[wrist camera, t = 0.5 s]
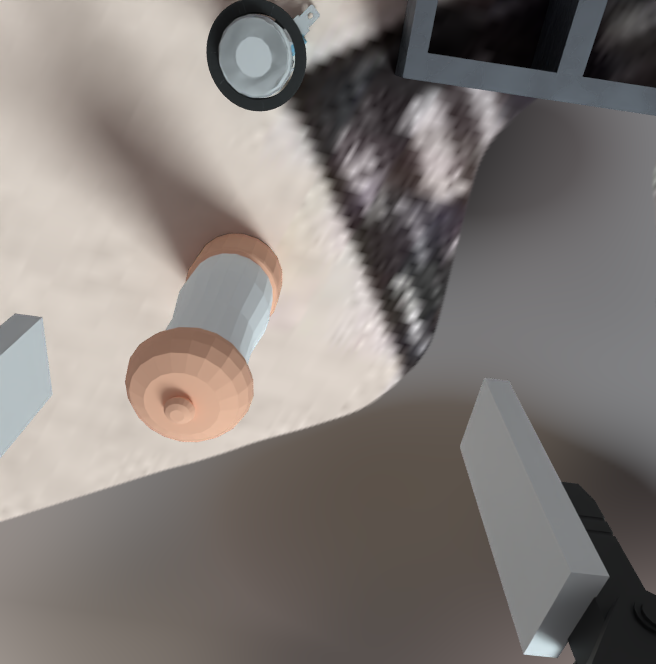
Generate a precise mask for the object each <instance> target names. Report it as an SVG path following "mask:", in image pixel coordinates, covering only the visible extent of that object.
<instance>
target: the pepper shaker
mask: <svg viewBox="0 0 656 664" xmlns="http://www.w3.org/2000/svg"><path fill="white" fill-rule="evenodd" d="M281 286H282V269H281V266H280V264H279V261H278V258H277V257H276V255H275V254H274V253H273V251H272V250H271V249H270V247H268V246H267V245H266V244H264V243H263V242H261V241H260V240H259V239H257V238H254V237H251V236H248V235H246V234H231V233H230V234H226V235H223V236H219V237H216V238H215V239H213V240H212V241H211V242H209V243H208V244H206V245H205V247H204V248H203V250H202V251H201V252H200V254H199V255H198V257H197V258H196V260H195V261H194V263H193V264H192V266H191V267H190V268H189V270H188V274H187V278H186V282H185V284H184V285H183V287H182V288H181V290H180V291H179V295H178V299H177V303H176V307H175V311H174V314H173V318H172V320H171V322H170V323H169V325H168V327H167V328H166V330H165V331H162V332H159V333H157V334H155V335H153V336H152V337H150V338H149V339H147V340H146V341H144V342H142V343H141V344H140V345H139V346H138V347H137V349H136V350H135V352H134V353H133V355H132V356H131V357H130V360H129V365H128V369H127V374H126V380H125V384H126V390H127V395H128V399H129V401H130V403H131V405H132V406H133V408H134V410H135V412H136V414H137V415H138V417H139V418H140V419H141V420H142V421H143V422H144V423H145V424H146V425H147V426H148V427H149V428H150V429H152V430H153V431H155V432H157V433H159V434H161V435H162V436H164V437H167V438H170V439H174V440H178V441H182V442H200V441H204V440H209V439H213V438H216V437H219V436H221V435H222V434H224V433H226V432H228V431H230V430H231V429H233V428H234V427H235V426H236V425H237V424H238V422H239V421H240V420H241V419H242V418H243V417H244V415H245V414H246V413H247V412H248V410H249V407H250V404H251V401H252V399H253V396H254V394H253V378H252V375H251V372H250V370H249V367H248V365H247V364H248V361H249V358H250V355H251V353H252V351H253V349H254V348H255V346H256V345H257V343H258V342H259V340H260V339H261V337H262V335H263V334H264V332H265V330H266V327H267V324H268V321H269V317H270V316H271V315H272V314H273V312H274V310H275V307H276V305H277V302H278V299H279V294H280V290H281Z"/></svg>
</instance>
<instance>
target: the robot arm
mask: <svg viewBox="0 0 656 664" xmlns="http://www.w3.org/2000/svg"><path fill="white" fill-rule="evenodd" d="M51 396H52V387H51V379H50V372H49V364H48V356H47V349H46V341H45V334H44V326H43V318H42V317H37V316H30V315H22V314H14V315H13V316H12V317H10V318H9V319H8V320H7V321H5V322H4V323H3V324H2V325H1V326H0V458H1V457H2V455H3V454H4V453H5V452H6V450H7V449H8V448H9V447H10V446H11V444H12V443H13V442H14V441H15V440H16V438H17V437H18V436H19V435H20V433H21V432H22V431H23V430H24V429H25V427H26V426H27V425H28V424H29V422H30V421H31V420H32V419H33V418H34V416H35V415H36V414H37V413H38V411H39V410H40V409H41V408H42V407H43V405H44V404H45V403H46V402H47V401H48V399H49V398H50V397H51ZM460 448H461V452H462V455H463V458H464V461H465V465H466V468H467V471H468V475H469V478H470V481H471V484H472V488H473V491H474V494H475V498H476V501H477V504H478V507H479V511H480V514H481V517H482V520H483V524H484V527H485V530H486V533H487V536H488V540H489V543H490V546H491V550H492V553H493V556H494V559H495V563H496V566H497V569H498V572H499V575H500V579H501V582H502V585H503V589H504V592H505V595H506V598H507V602H508V605H509V608H510V612H511V615H512V618H513V621H514V625H515V628H516V631H517V634H518V638H519V641H520V644H521V647H522V651H523V654H526V655H536V656H545V657H556V658H558V657H559V655H560V653H561V652H562V650H563V649H564V647H565V646H566V644H567V643H568V642H569V644H570V647H571V650H572V652H573V655H574V657H575V660H576V661H575V662H574V664H656V595H654V594H652V593H650V592H648V591H646V590H645V588H644V587H643V585H642V583H641V581H640V579H639V578H638V576H637V574H636V573H635V571H634V569H633V567H632V565H631V564H630V562H629V560H628V558H627V557H626V555H625V553H624V551H623V550H622V548H621V546H620V544H619V542H618V541H617V539H616V537H615V536H613V532H612V530H611V529H610V527H609V525H608V523H607V522H605V521H604V516H603V514H602V513H601V511H600V509H599V507H598V506H597V504H596V502H595V500H594V499H593V498H591V496H589V494H587V492H586V491H585V490H584V489H583V488H582V487H581V486H580V485H579V484H574V483H566V482H561V481H560V479H559V477H558V475H557V473H556V472H555V469H554V467H553V465H552V464H551V462H550V460H549V458H548V456H547V454H546V452H545V450H544V448H543V446H542V444H541V442H540V440H539V438H538V436H537V434H536V433H535V431H534V429H533V427H532V425H531V423H530V421H529V419H528V417H527V415H526V413H525V411H524V409H523V407H522V405H521V403H520V401H519V399H518V398H517V396H516V394H515V392H514V390H513V388H512V386H511V384H510V382H509V381H506V380H498V379H490V378H484V380H483V383H482V386H481V389H480V392H479V395H478V397H477V400H476V403H475V406H474V409H473V411H472V414H471V417H470V420H469V423H468V425H467V428H466V431H465V434H464V437H463V439H462V442H461V445H460Z"/></svg>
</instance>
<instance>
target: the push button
mask: <svg viewBox="0 0 656 664" xmlns="http://www.w3.org/2000/svg"><path fill="white" fill-rule="evenodd" d="M309 13H313V18H312V19H309V18H308V14H309ZM256 14H264V15H268V16H271V17H273V18H275V19H276V21H275V22H274V21H273V20H271V19H270V18H268V17H266V16H261V15H256ZM319 15H320V14H319V13H318V11H317V10H316V9H315V7H314V6H313V5H310V6H309V7H308V8H307V9H306V10H305V11H304V12H303V13H302V14H301V16H300V17H299V16H298V15H297V16H296V17H295V18H294V19H292V18H291V16H290V15H289V14H288V13H287V12H286V11H284V10H283V9H282V8H280V7H279V6H277V5H276V4H274V3H271V2H269V1H266V0H240V1H237V2H235V3H233V4H231V5H230V6H228V7H227V8H226V9H224V10H223V11H222V12H221V13H220V14H219V16H218V17H217V18H216V20H215V21H214V23H213V25H212V27H211V30H210V33H209V36H208V40H207V62H208V67H209V71H210V73H211V76H212V78H213V80H214V82H215V84H216V86H217V87H218V89H219V90H220V91H221V92H222V94H223V95H224V96H225V97H226V98H227V99H229V100H230V101H231V102H232V103H234V104H236V105H237V106H239V107H241V108H244V109H247V110H251V111H268V110H272V109H275V108H277V107H279V106H281V105H283V104H284V103H286V102H287V101H288V100H289V99H290V98H291V97H292V96H293V95H294V94H295V93H296V91H297V90H298V88H299V86H300V84H301V82H302V80H303V77H304V74H305V69H306V48H305V44H306V42H307V41H306V40H305V38H304V37H303V36H304V35H305V34H306V33H307V32H308V31H309V29H308V28H309V27H310V26H311V25H312V24H313V23H314V22H315V21H316V20H317V19H318V18H319ZM294 55H295V67H294V68H292V66H293V63H294V61H293V56H294ZM293 70H294V71H293ZM292 71H293V75H292V77H291V79H290V81H289V83H288V84H287V86H286V87H285V88H284V89H283V90H282V91H281V92H280V93H278V94H277V95H274V96H272V97H268V96H270V95H272V94H274V93H276V92H277V91H279V90H280V89H281V88H282V87H283V85H284V84H285V82H286V81H287V80H288V78H289V76H290V73H291V72H292ZM262 97H267V98H262Z"/></svg>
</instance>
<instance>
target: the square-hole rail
mask: <svg viewBox="0 0 656 664" xmlns="http://www.w3.org/2000/svg"><path fill="white" fill-rule="evenodd" d="M607 1H608V0H550V2H549V5H548V9H547V12H546V16H545V19H544V23H543V26H542V30H541V33H540V37H539V40H538V44H537V47H536V51H535V55H534V58H533V62H532V65H531V69H529V68H522V67H516V66H509V65H502V64H496V63H489V62H483V61H476V60H470V59H463V58H457V57H450V56H444V55H437V54H431V53H428V48H429V43H430V38H431V33H432V28H433V23H434V18H435V13H436V8H437V3H438V0H408V2H407V8H406V14H405V19H404V25H403V31H402V37H401V42H400V48H399V54H398V60H397V65H396V71H395V75H396V76H399V77H402V78H408V79H415V80H421V81H428V82H435V83H441V84H448V85H455V86H461V87H468V88H475V89H481V90H488V91H495V92H501V93H508V94H515V95H521V96H528V97H535V98H542V99H548V100H555V101H561V102H568V103H575V104H581V105H588V106H595V107H601V108H608V109H615V110H621V111H628V112H635V113H642V114H648V115H654V116H656V88H653V87H646V86H640V85H633V84H627V83H620V82H614V81H607V80H601V79H594V78H587V77H583V74H584V71H585V68H586V65H587V62H588V58H589V55H590V52H591V49H592V46H593V43H594V40H595V37H596V34H597V31H598V28H599V25H600V22H601V19H602V16H603V13H604V10H605V7H606V4H607Z"/></svg>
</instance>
